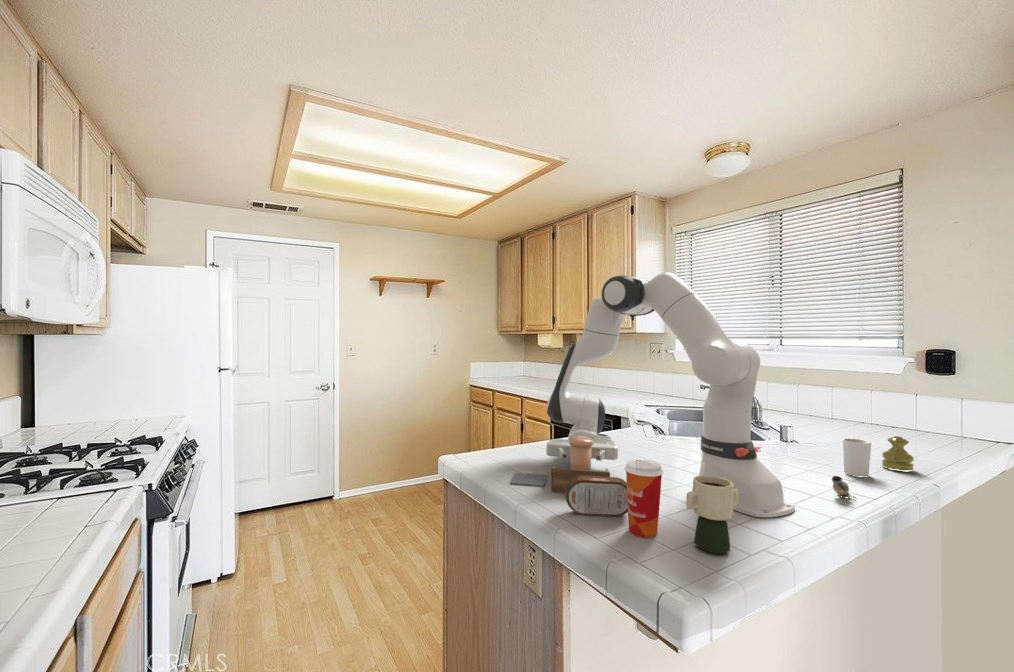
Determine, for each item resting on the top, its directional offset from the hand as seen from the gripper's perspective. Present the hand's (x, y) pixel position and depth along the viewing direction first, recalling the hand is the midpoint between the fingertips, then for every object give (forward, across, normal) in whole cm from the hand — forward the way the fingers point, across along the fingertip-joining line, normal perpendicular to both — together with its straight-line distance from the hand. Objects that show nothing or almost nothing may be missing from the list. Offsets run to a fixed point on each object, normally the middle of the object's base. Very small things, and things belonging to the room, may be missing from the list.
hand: (581, 456), depth 124 cm
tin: (+22, +4, +7) cm, 23 cm away
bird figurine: (-1, +64, +7) cm, 65 cm away
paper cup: (+29, +13, +7) cm, 32 cm away
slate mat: (+1, -14, +7) cm, 16 cm away
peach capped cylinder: (+1, 0, +7) cm, 7 cm away
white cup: (-24, +80, +7) cm, 84 cm away
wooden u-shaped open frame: (+5, 0, +7) cm, 8 cm away
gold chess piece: (-33, +96, +7) cm, 101 cm away
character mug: (+34, +25, +7) cm, 43 cm away
